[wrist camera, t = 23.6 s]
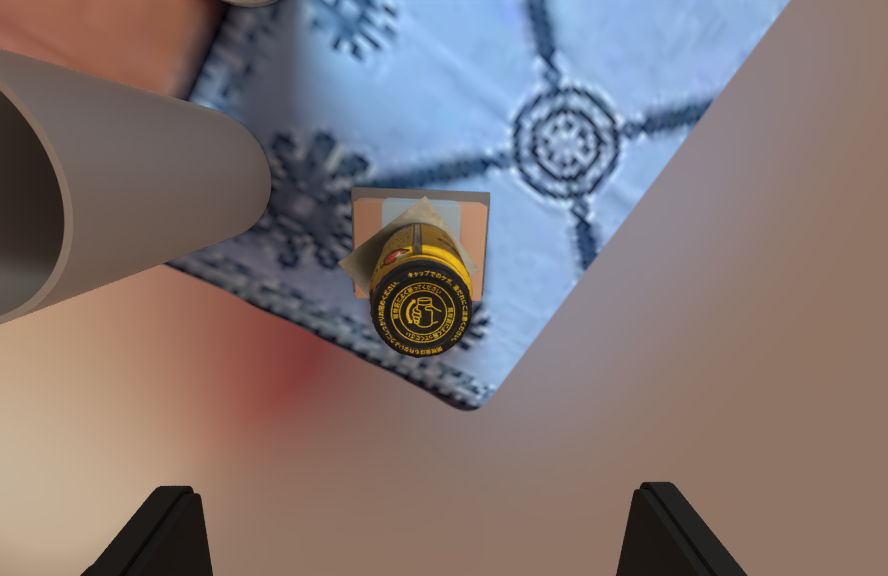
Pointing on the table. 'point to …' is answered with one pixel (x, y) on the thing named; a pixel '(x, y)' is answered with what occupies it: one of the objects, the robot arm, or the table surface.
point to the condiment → (415, 282)
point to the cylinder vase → (111, 181)
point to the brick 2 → (470, 239)
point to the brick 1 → (445, 208)
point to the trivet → (419, 194)
